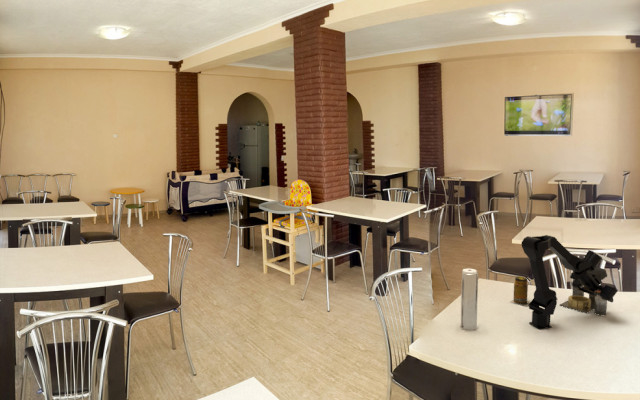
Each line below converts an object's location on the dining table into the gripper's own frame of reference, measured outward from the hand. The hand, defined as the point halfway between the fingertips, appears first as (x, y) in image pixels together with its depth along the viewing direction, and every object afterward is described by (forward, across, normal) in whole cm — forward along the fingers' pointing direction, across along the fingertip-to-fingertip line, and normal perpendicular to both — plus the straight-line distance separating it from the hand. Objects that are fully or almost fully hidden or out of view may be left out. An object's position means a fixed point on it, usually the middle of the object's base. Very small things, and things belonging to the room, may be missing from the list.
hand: (603, 298), depth 207 cm
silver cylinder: (-40, +10, +49) cm, 64 cm away
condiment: (-11, +24, +21) cm, 34 cm away
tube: (+4, 0, +6) cm, 7 cm away
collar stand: (+4, +10, +6) cm, 12 cm away
